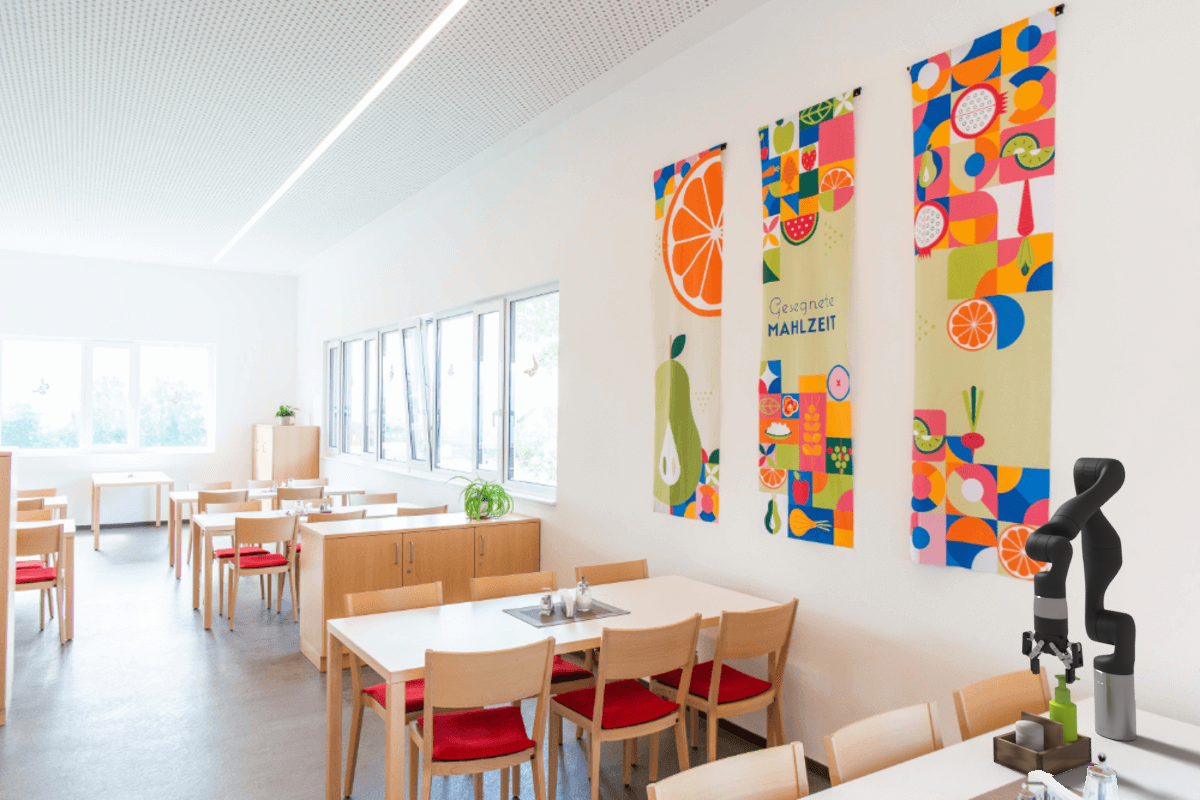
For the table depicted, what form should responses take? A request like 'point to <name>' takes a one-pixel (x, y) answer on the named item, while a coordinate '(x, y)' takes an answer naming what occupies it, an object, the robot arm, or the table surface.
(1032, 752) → the caddy
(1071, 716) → the soap dispenser
